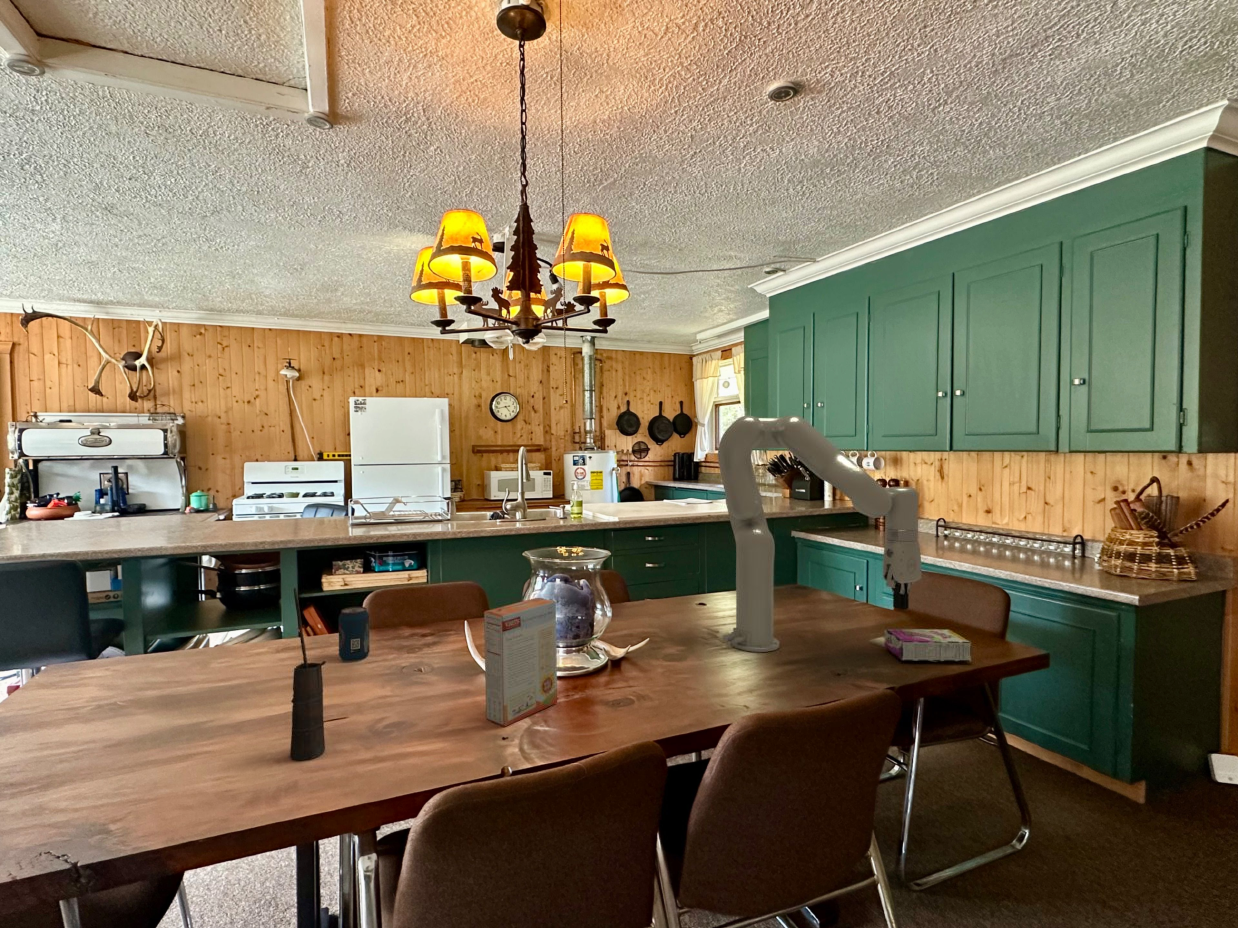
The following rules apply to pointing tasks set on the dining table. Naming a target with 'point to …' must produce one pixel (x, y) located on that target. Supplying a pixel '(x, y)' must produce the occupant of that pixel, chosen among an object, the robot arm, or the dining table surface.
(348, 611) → the soda can
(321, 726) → the butter churn
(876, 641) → the beige flat rectangular panel
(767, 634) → the robot arm
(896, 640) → the candy bar box
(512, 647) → the cracker box
